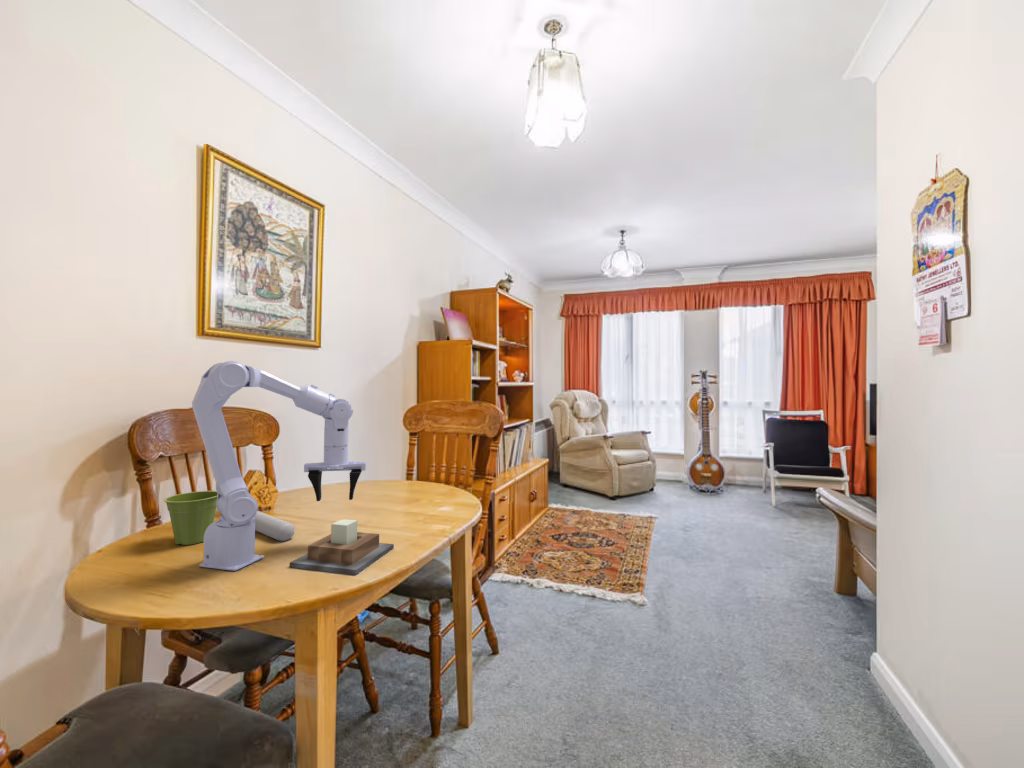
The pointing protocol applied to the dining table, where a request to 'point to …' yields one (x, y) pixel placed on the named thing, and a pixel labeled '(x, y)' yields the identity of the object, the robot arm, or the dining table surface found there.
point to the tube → (273, 526)
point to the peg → (344, 531)
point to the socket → (343, 554)
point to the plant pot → (191, 515)
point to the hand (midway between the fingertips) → (335, 499)
